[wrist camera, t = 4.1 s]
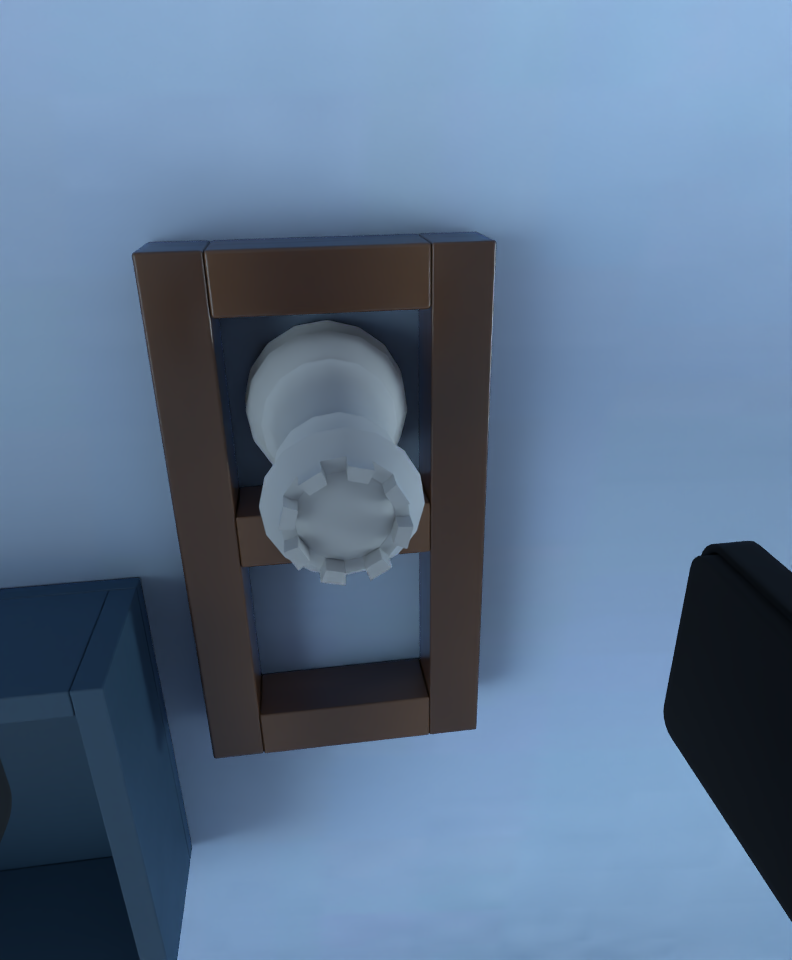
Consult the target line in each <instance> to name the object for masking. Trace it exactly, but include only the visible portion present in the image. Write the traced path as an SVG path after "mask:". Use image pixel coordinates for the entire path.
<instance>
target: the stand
mask: <svg viewBox="0 0 792 960" xmlns="http://www.w3.org/2000/svg"><path fill="white" fill-rule="evenodd" d="M132 259H133V265H134V271H135V277H136V283H137V290H138V296H139V302H140V308H141V314H142V320H143V326H144V332H145V339H146V345H147V351H148V357H149V363H150V369H151V375H152V382H153V388H154V394H155V400H156V406H157V412H158V418H159V424H160V431H161V437H162V443H163V449H164V455H165V461H166V467H167V474H168V480H169V486H170V492H171V498H172V504H173V510H174V516H175V523H176V529H177V535H178V541H179V547H180V553H181V559H182V566H183V572H184V578H185V584H186V590H187V596H188V602H189V608H190V615H191V621H192V627H193V633H194V639H195V645H196V651H197V657H198V664H199V670H200V676H201V682H202V688H203V694H204V700H205V707H206V713H207V719H208V725H209V731H210V737H211V743H212V749H213V756H214V758H225V757H234V756H242V755H251V754H260V753H263V752H265V753H271V752H280V751H289V750H297V749H306V748H315V747H323V746H332V745H341V744H350V743H358V742H367V741H376V740H384V739H393V738H402V737H411V736H419V735H428V734H429V733H430V734H437V733H445V732H454V731H463V730H472V729H476V724H477V700H478V676H479V651H480V627H481V603H482V578H483V554H484V530H485V506H486V481H487V457H488V433H489V409H490V384H491V360H492V336H493V311H494V287H495V263H496V241H495V240H493V239H491V238H488V237H486V236H484V235H482V234H480V233H478V232H453V233H422V234H419V235H417V234H396V235H365V236H334V237H303V238H271V239H240V240H213V241H211V243H210V242H209V241H176V242H148V243H146V244H145V245H144V246H142V247H141V248H139V249H138V250H137V251H135V252H134V253H133V254H132ZM416 309H419V474H420V475H421V482H422V489H423V495H424V502H425V504H424V507H423V511H422V514H421V518H420V521H419V525H418V528H417V531H416V532H415V534H414V535H413V536H412V537H411V539H410V541H409V545H408V548H407V549H406V548H403V549H402V550H401V551H400V552H399V554H405V553H417V552H419V590H420V660H419V659H410V660H400V661H390V662H380V663H371V664H361V665H351V666H341V667H331V668H322V669H312V670H302V671H292V672H282V673H273V674H263V675H262V676H261V667H260V659H259V650H258V642H257V634H256V625H255V617H254V608H253V600H252V591H251V583H250V574H249V567H252V566H264V565H275V564H287V563H292V562H291V561H290V560H289V559H287V558H285V557H284V556H283V554H282V553H281V552H280V551H279V550H278V548H277V547H276V546H275V545H274V544H273V542H272V541H271V540H270V539H269V537H268V536H267V535H266V532H265V528H264V524H263V520H262V516H261V513H260V509H259V504H260V498H261V493H262V488H263V486H254V487H241V488H240V490H239V481H238V473H237V464H236V456H235V447H234V439H233V431H232V422H231V414H230V405H229V397H228V388H227V380H226V371H225V363H224V354H223V346H222V338H221V329H220V321H219V318H236V317H259V316H281V315H304V314H326V313H348V312H371V311H393V310H416Z"/></svg>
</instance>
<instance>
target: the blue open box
mask: <svg viewBox="0 0 792 960" xmlns="http://www.w3.org/2000/svg"><path fill="white" fill-rule="evenodd" d="M0 759H1V762H2V765H3V768H4V771H5V774H6V777H7V780H8V783H9V786H10V789H11V795H12V808H11V814H10V818H9V822H8V825H7V827H6V830H5V832H4V835H3V837H2V840H1V843H0V960H177V956H178V949H179V941H180V934H181V926H182V919H183V911H184V904H185V896H186V889H187V881H188V874H189V866H190V858H191V851H192V844H191V839H190V834H189V829H188V824H187V819H186V813H185V808H184V803H183V798H182V793H181V788H180V783H179V777H178V772H177V767H176V762H175V757H174V752H173V746H172V741H171V736H170V731H169V726H168V721H167V715H166V710H165V705H164V700H163V695H162V690H161V684H160V679H159V674H158V669H157V664H156V659H155V653H154V648H153V643H152V638H151V633H150V628H149V622H148V617H147V612H146V607H145V602H144V597H143V591H142V586H141V581H140V578H128V579H116V580H104V581H93V582H81V583H69V584H57V585H45V586H34V587H22V588H10V589H0Z"/></svg>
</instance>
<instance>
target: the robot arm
mask: <svg viewBox="0 0 792 960" xmlns="http://www.w3.org/2000/svg"><path fill="white" fill-rule="evenodd" d="M664 720H665V725H666V728H667V730H668V733H669V735H670V736H671V738H672V740H673V741H674V743H675V744H676V746H677V747H678V749H679V750H680V752H681V753H682V755H683V756H684V758H685V760H686V761H687V763H688V764H689V766H690V767H691V769H692V770H693V772H694V773H695V775H696V776H697V778H698V779H699V781H700V782H701V784H702V785H703V787H704V789H705V790H706V792H707V793H708V795H709V796H710V798H711V799H712V801H713V802H714V804H715V805H716V807H717V808H718V810H719V811H720V813H721V815H722V816H723V818H724V819H725V821H726V822H727V824H728V825H729V827H730V828H731V830H732V831H733V833H734V834H735V836H736V837H737V839H738V840H739V842H740V844H741V845H742V847H743V848H744V850H745V851H746V853H747V854H748V856H749V857H750V859H751V860H752V862H753V863H754V865H755V866H756V868H757V870H758V871H759V873H760V874H761V876H762V877H763V879H764V880H765V882H766V883H767V885H768V886H769V888H770V889H771V891H772V892H773V894H774V895H775V897H776V899H777V900H778V902H779V903H780V905H781V906H782V908H783V909H784V911H785V912H786V914H787V915H788V917H789V918H790V920H791V921H792V572H791V571H790V570H788V569H787V568H786V567H785V566H784V565H783V564H781V563H780V562H779V561H778V560H777V559H775V558H774V557H773V556H772V555H771V554H770V553H768V552H767V551H766V550H765V549H764V548H763V547H761V546H760V545H759V544H757V543H755V542H754V541H741V542H731V543H720V544H711V545H709V546H707V547H706V548H705V549H704V551H703V552H702V555H701V556H698V557H696V558H695V559H694V560H693V561H692V564H691V567H690V572H689V577H688V583H687V588H686V593H685V598H684V604H683V609H682V614H681V619H680V625H679V630H678V635H677V640H676V645H675V651H674V656H673V661H672V666H671V672H670V677H669V682H668V687H667V693H666V698H665V703H664ZM11 808H12V795H11V789H10V786H9V783H8V780H7V777H6V774H5V771H4V768H3V765H2V762H1V759H0V843H1V840H2V837H3V835H4V832H5V830H6V827H7V825H8V822H9V818H10V814H11Z"/></svg>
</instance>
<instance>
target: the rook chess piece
mask: <svg viewBox="0 0 792 960" xmlns="http://www.w3.org/2000/svg"><path fill="white" fill-rule="evenodd" d="M245 403H246V413H247V417H248V421H249V425H250V429H251V433H252V437H253V440H254V441H255V443H256V444H257V445H258V446H259V448H260V449H261V450H262V452H263V453H264V454H265V456H266V457H267V458H268V459H269V461H270V462H271V463H272V465H273V466H272V467H271V469H270V470H269V472H268V473H267V474H266V476H265V477H264V483H263V488H262V493H261V498H260V504H259V509H260V513H261V516H262V520H263V524H264V528H265V532H266V535H267V536H268V537H269V539H270V540H271V541H272V542H273V544H274V545H275V546H276V547H277V548H278V550H279V551H280V552H281V553H282V554H283V556H284V557H285V558H287V559H289V560H290V561H291V562H292V563H293V564H294V565H295V567H296V568H297V569H298V570H301V569H302V568H303V567H304V568H306V569H308V570H309V571H311V572H318V573H320V581H321V583H329V584H336V585H344V586H346V575H348V574H353V573H358V572H363V571H367V574H368V576H369V578H370V580H373V579H374V578H376V577H378V576H379V575H381V574H383V573H384V572H386V571H388V570H390V569H391V568H392V565H391V561H390V559H391V558H392V557H394V556H396V555H397V554H399V552H400V551H401V550H402V549H403V548H406V549H407V548H408V545H409V541H410V539H411V537H412V536H413V535H414V534H415V532H416V531H417V528H418V525H419V521H420V518H421V514H422V511H423V507H424V504H425V502H424V495H423V489H422V482H421V475H420V474H419V472H418V471H417V469H416V467H415V466H414V464H413V463H412V461H411V460H410V458H409V457H408V455H407V454H406V452H405V451H404V450H403V449H401V448H400V447H398V446H397V444H398V443H399V440H400V437H401V433H402V430H403V426H404V422H405V418H406V414H407V411H408V410H407V403H406V397H405V390H404V383H403V380H402V375H401V370H400V369H399V367H398V365H397V364H396V362H395V361H394V359H393V357H392V356H391V354H390V353H389V351H388V349H387V348H386V346H385V345H384V344H383V343H381V342H380V341H378V340H377V339H375V338H374V337H373V336H371V335H370V334H368V333H367V332H365V331H364V330H362V329H361V328H360V327H357V326H352V325H348V324H343V323H338V322H334V321H329V320H324V321H319V322H313V323H308V324H302V325H297V326H294V327H292V328H291V329H289V330H287V331H286V332H284V333H283V334H281V335H280V336H278V337H277V338H275V339H274V340H272V341H271V342H269V343H267V345H266V346H265V348H264V349H263V351H262V352H261V354H260V355H259V357H258V358H257V360H256V361H255V363H254V364H253V366H252V367H251V369H250V372H249V378H248V384H247V390H246V396H245Z"/></svg>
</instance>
